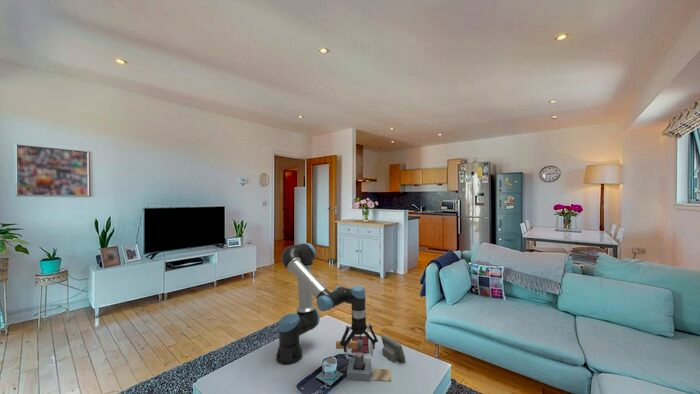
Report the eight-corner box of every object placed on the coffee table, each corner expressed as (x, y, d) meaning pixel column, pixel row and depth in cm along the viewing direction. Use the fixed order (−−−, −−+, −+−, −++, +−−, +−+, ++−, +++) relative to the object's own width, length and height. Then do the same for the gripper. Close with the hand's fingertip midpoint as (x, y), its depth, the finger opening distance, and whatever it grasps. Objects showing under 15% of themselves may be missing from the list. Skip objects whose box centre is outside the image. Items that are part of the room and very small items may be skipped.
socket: (346, 379, 140) (346, 359, 140) (349, 363, 154) (349, 345, 154) (370, 381, 139) (370, 360, 139) (370, 365, 152) (370, 346, 152)
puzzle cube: (368, 353, 164) (368, 336, 164) (352, 353, 165) (351, 336, 165) (367, 344, 174) (367, 328, 174) (352, 344, 175) (352, 328, 175)
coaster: (373, 380, 139) (373, 379, 139) (373, 369, 148) (373, 368, 148) (390, 381, 138) (390, 380, 138) (390, 370, 147) (390, 369, 147)
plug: (354, 375, 143) (354, 356, 143) (355, 369, 148) (355, 351, 148) (363, 376, 143) (363, 356, 143) (363, 370, 148) (363, 351, 148)
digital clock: (406, 362, 155) (406, 343, 155) (393, 366, 151) (393, 347, 151) (391, 348, 170) (391, 331, 170) (378, 351, 166) (378, 334, 166)
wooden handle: (336, 346, 153) (336, 340, 153) (362, 345, 153) (362, 339, 153) (335, 349, 149) (335, 343, 150) (363, 348, 150) (363, 342, 150)
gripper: (336, 321, 140) (337, 363, 140) (383, 317, 144) (384, 357, 144) (334, 315, 147) (335, 355, 147) (379, 311, 151) (380, 350, 151)
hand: (359, 356), depth 145 cm, fingers open, 13 cm apart
